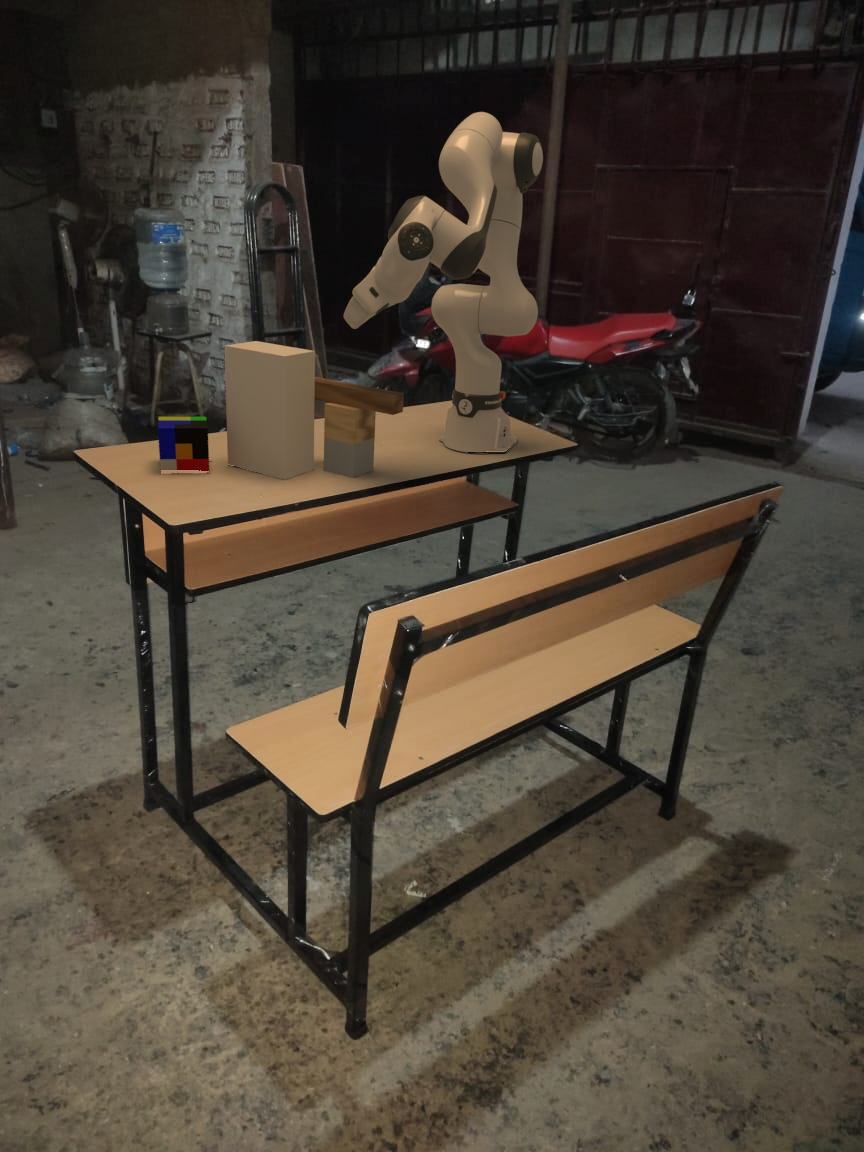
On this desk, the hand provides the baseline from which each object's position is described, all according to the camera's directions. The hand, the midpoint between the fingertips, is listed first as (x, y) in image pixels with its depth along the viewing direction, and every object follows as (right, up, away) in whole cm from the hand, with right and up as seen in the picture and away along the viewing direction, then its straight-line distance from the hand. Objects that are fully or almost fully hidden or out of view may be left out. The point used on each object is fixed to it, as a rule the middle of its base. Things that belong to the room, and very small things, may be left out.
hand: (375, 309), depth 187 cm
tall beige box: (-24, -34, +3) cm, 42 cm away
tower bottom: (-7, -34, +6) cm, 36 cm away
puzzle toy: (-42, -35, 0) cm, 54 cm away
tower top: (-6, -28, +3) cm, 28 cm away
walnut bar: (-5, -21, 0) cm, 22 cm away
